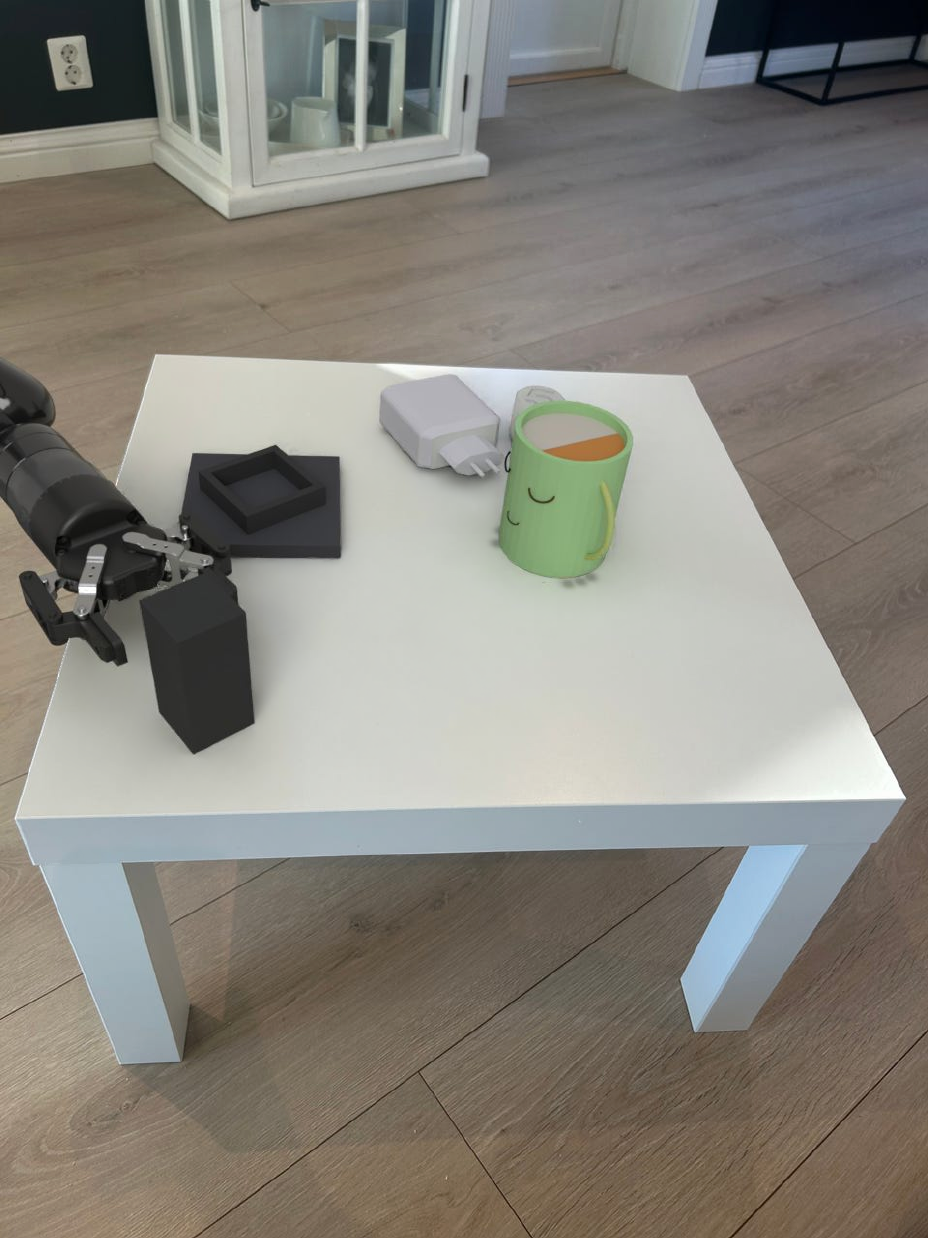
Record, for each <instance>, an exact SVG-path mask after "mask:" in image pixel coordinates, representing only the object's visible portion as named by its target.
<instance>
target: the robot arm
mask: <svg viewBox="0 0 928 1238" xmlns="http://www.w3.org/2000/svg"><path fill="white" fill-rule="evenodd" d="M56 416H57V411H56V405H55V401H54V399H53V396H52V394H51V393H50V391H49V390H48V388H47V387H46V386H45V385H44V384H43V383H42V382H41V381H40V380H38V379H37V378H36V377H35V376H33V375H32V374H30V373H29V372H27V371H26V370H25V369H22V368H21V367H19V366H18V365H15V364H14V363H12V362H10V361H8V360H6V359H5V358H4V357H1V356H0V498H1V499H2V501H3V502H4V503H5V504H6V505H7V507H8V508H9V509H10V510H11V511H12V513H13V515H14V517H15V519H16V521H17V523H18V524H19V526H20V527H21V529H22V530H23V532H25V534H26V535H27V536H28V538H29V539H30V540H31V541H32V542H33V544H34V545H35V546H36V547H37V548H38V550H40V552H41V553H42V555H43V556H44V557H45V559H47V561H48V562H49V563H50V564H51V566H52V567H53V568H54V571H51V572H48V573H45V574H42V575H38V573H37V572H36V571H34V570H25V571H22V572H21V573H20V574H19V575H18V580H19V583H20V587H21V591H22V594H23V597H24V598H23V599H24V602H25V604H26V606H27V607H28V609H29V611H30V612H31V614H32V615H33V617H34V619H35V620H36V622H37V624H38V625H39V627H40V628H41V630H42V631H43V634H44V635H45V636H46V638H47V640H48V641H49V642H50V644H51V645H53V646H55V647H60V646H61V647H62V646H63V645H66V644H67V643H68V642H69V639H75V638H77V639H80V640H82V641H85V642H86V643H87V644H88V646H89V647H90V648H91V649H92V651H93V652H94V653H95V654H96V656H97V657H98V659H100V661H102V662H103V663H106V664H108V663H111V662H112V663H113V664H114V665H115V666H116V667H120V666H123V665H125V664H127V663H128V661H129V660H128V656H127V650H126V646H125V644H124V641H123V640H122V638H121V637H120V636H119V634H118V633H117V632H116V631H115V630H114V628H113V627H112V626H111V624H110V623H109V622H108V621H107V620H106V619H105V618H106V615H107V612H108V609H109V605H110V602H111V601H117V602H118V603H121V602H123V601H125V600H128V599H130V598H132V597H133V596H135V595H136V594H138V593H142V592H147V591H150V590H153V589H155V588H157V587H158V586H163V587H167V588H169V587H172V586H174V585H177V584H179V583H182V582H184V581H187V580H189V579H191V578H194V577H196V576H199V575H201V574H204V573H206V572H207V573H208V574H209V575H210V576H211V577H212V578H213V579H214V580H215V581H216V582H217V583H218V584H219V585H220V586H221V587H222V588H223V589H224V590H225V591H226V592H227V593H228V594H229V595H230V596H231V597H232V599H233V600H234V601H235V602H236V603H237V604H238V605H239V594H238V589H237V585H236V584H234V582H232V581H231V579H229V576H231V574H233V567H232V566H233V565H232V557H231V553H230V545H229V544H228V543H227V542H225V541H224V540H223V539H222V538H221V537H220V536H218V535H217V534H216V533H215V532H214V531H212V530H211V529H210V528H209V527H208V526H207V525H205V524H204V523H203V522H202V521H201V520H200V519H198V518H197V517H196V516H195V515H194V514H192V513H189V512H185V513H182V514H181V513H180V514H179V515H178V524H176V525H174V526H171V527H169V528H166V529H164V530H163V529H161V528H159V527H157V526H156V527H155V526H153V525H151V524H149V523H148V522H147V520H146V519H145V517H144V516H143V515H142V514H141V512H140V510H138V508H136V507H135V505H133V503H132V502H131V501H130V500H129V499H128V498H127V497H126V496H125V495H124V494H123V493H122V492H121V491H120V490H119V489H118V488H117V486H116V485H115V483H114V482H113V481H111V480H110V479H109V478H108V477H107V476H106V475H105V474H104V473H103V472H102V471H101V470H100V469H99V468H98V467H96V466H95V465H94V464H92V462H90V461H88V460H87V459H85V458H84V457H83V456H82V455H81V454H80V453H79V451H77V449H76V448H75V447H74V446H73V445H72V444H71V443H70V442H69V441H68V440H67V439H66V438H65V437H64V436H63V435H62V434H61V433H60V432H58V431H57V430H56V429H55V428H53V427H52V426H53V425H54V423H55V422H56ZM167 561H168V562H169V566H170V570H166V566H167ZM189 568H191V569H196V570H197V571H192V570H190V569H189ZM60 589H63V590H65V591H67V592H70V593H73V594H77V597H76V600H75V603H74V605H73V608H72V610H70V611H64V612H63V611H62V610H61V609H60V607H59V605H58V604H57V602H56V600H58V597H59V596H58V595H59V594H58V591H59V590H60ZM239 606H240V605H239Z"/></svg>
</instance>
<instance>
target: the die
mask: <svg viewBox="0 0 928 1238" xmlns="http://www.w3.org/2000/svg"><path fill="white" fill-rule="evenodd" d="M548 401H566V399H565V398H564V396H563V395H562V394H561V392H559V391H557V390H556V389H554V388H551V387H548V386H545V385H528V386H525V387H522V388H521V389H519V390H517V392H516V394H515V398H514V401H513V407H512V413H511V418H510V424H509V432H508V436H509V438H510V440H511V441H513V435H514V428H515V422H516V419H517V417H518V416H519V414H520V413H521V412H522V411H523V410H525V409H526V408H528V407H530V406H532V405H535V404H538V403H542V402H548Z"/></svg>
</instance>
